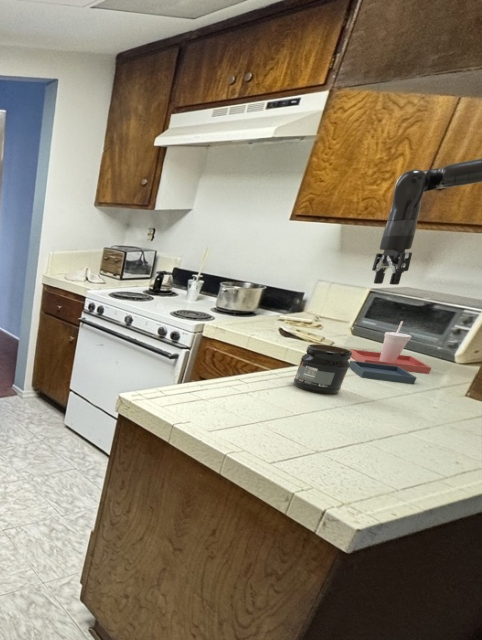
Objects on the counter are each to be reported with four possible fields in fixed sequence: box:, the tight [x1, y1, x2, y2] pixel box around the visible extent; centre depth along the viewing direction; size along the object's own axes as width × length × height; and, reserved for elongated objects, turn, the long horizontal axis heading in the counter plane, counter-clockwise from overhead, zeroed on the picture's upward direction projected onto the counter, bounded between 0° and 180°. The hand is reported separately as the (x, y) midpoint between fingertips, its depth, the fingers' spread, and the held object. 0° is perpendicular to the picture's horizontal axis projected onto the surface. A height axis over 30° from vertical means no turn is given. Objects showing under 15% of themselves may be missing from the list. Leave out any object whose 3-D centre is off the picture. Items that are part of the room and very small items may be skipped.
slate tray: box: [349, 360, 417, 385], centre depth 148 cm, size 12×12×2 cm
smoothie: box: [379, 320, 413, 363], centre depth 157 cm, size 6×6×14 cm
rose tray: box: [350, 349, 432, 375], centre depth 159 cm, size 16×14×2 cm
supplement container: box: [293, 343, 352, 395], centre depth 134 cm, size 10×10×12 cm
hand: (385, 284), depth 162 cm, fingers open, 8 cm apart
